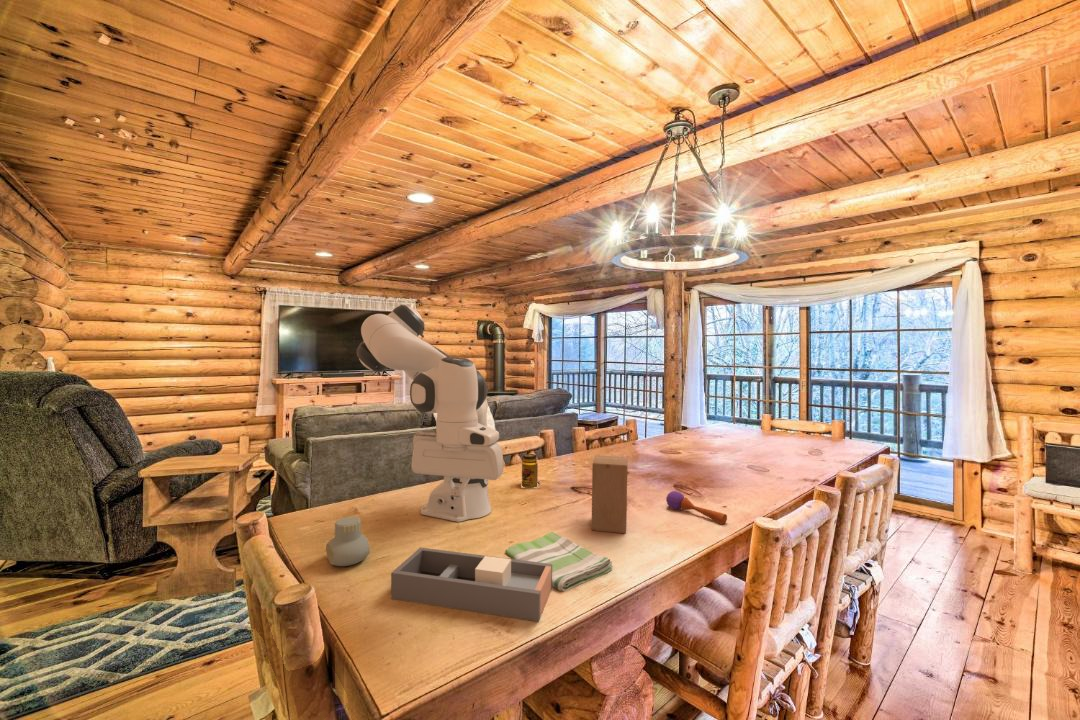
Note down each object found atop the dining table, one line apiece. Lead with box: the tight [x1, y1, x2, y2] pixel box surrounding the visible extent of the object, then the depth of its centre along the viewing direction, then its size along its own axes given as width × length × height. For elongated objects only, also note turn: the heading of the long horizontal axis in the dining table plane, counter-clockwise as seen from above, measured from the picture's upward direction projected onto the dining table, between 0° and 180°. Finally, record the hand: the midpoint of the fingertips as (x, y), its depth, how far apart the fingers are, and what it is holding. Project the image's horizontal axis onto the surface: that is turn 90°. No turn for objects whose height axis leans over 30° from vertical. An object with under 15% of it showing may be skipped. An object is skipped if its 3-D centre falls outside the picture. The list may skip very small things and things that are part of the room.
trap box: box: [390, 547, 553, 623], centre depth 96 cm, size 32×12×6 cm, turn 77°
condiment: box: [521, 453, 541, 489], centre depth 173 cm, size 7×8×12 cm
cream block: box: [475, 555, 512, 586], centre depth 95 cm, size 6×6×4 cm
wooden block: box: [590, 454, 629, 534], centre depth 134 cm, size 10×10×20 cm
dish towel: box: [504, 531, 614, 592], centre depth 111 cm, size 17×23×4 cm
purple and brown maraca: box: [665, 490, 728, 525], centre depth 144 cm, size 6×6×20 cm
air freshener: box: [325, 516, 371, 567], centre depth 110 cm, size 11×8×10 cm
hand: (456, 496), depth 97 cm, fingers closed
